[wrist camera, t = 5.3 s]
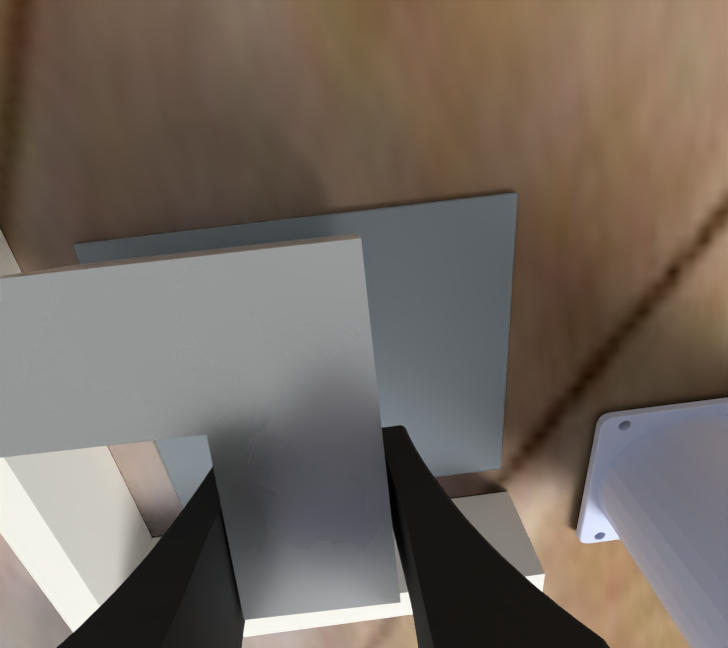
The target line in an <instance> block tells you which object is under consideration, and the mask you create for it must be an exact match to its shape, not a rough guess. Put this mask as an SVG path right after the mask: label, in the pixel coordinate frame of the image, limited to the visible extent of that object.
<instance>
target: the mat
mask: <svg viewBox="0 0 728 648" xmlns="http://www.w3.org/2000/svg"><path fill="white" fill-rule="evenodd" d="M517 200H518V193H516V192H512V193H504V194H495V195H487V196H478V197H470V198H461V199H452V200H444V201H435V202H427V203H418V204H410V205H401V206H393V207H384V208H376V209H367V210H359V211H350V212H342V213H333V214H325V215H316V216H307V217H299V218H290V219H282V220H273V221H265V222H256V223H248V224H239V225H231V226H222V227H214V228H205V229H197V230H188V231H180V232H171V233H162V234H154V235H145V236H137V237H128V238H120V239H111V240H103V241H94V242H86V243H77V244H74V245H73V248H74V251H75V253H76V256H77V258H78V260H79V263H80V264H84V263H92V262H101V261H110V260H119V259H128V258H137V257H146V256H155V255H164V254H172V253H181V252H190V251H199V250H208V249H217V248H226V247H235V246H244V245H253V244H262V243H271V242H280V241H289V240H297V239H306V238H315V237H324V236H333V235H342V234H351V233H358V234H359V236H360V237H361V242H362V252H363V261H364V270H365V279H366V288H367V298H368V307H369V316H370V325H371V334H372V344H373V353H374V362H375V371H376V380H377V389H378V399H379V408H380V417H381V426H382V428H383V427H391V426H398V425H402V426H404V427H405V428H406V430H407V432H408V434H409V436H410V438H411V440H412V442H413V444H414V446H415V448H416V449H417V451H418V453H419V454H420V456H421V458H422V459H423V461H424V463H425V464H426V466H427V467H428V469H429V470H430V472H431V473H432V474H433V476H434V477H441V476H448V475H456V474H464V473H471V472H479V471H487V470H495V469H501V455H502V439H503V423H504V407H505V391H506V375H507V359H508V343H509V327H510V311H511V295H512V279H513V263H514V248H515V232H516V216H517ZM154 441H155V443H156V445H157V448H158V450H159V453H160V455H161V457H162V460H163V462H164V464H165V467H166V469H167V472H168V474H169V476H170V479H171V481H172V483H173V486H174V488H175V491H176V493H177V495H178V498H179V500H180V502H181V505H182V507H183V508H184V507H185V506H186V504H187V503H188V501H189V500H190V499H191V497H192V496H193V494H194V493H195V492H196V490H197V489H198V487H199V486H200V484H201V483H202V481H203V480H204V478H205V477H206V475H207V474H208V472H209V471H210V469H211V468H212V466H213V464H212V459H211V454H210V449H209V445H208V440H207V435H198V436H189V437H181V438H172V439H163V440H154Z"/></svg>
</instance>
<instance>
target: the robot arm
mask: <svg viewBox="0 0 728 648" xmlns="http://www.w3.org/2000/svg"><path fill="white" fill-rule="evenodd" d="M623 421H624V422H623ZM622 422H623V423H622ZM620 423H621V424H620ZM382 435H383V445H384V454H385V463H386V472H387V481H388V491H389V500H390V509H391V518H392V527H393V532H394V536H395V540H396V544H397V548H398V552H399V556H400V561H401V565H402V569H403V573H404V577H405V581H406V585H407V589H408V593H409V598H410V602H411V607H412V612H413V617H414V622H415V629H416V635H417V641H418V648H610V647H609V646H608V645H607V643H606V642H605V640H604V639H602V638H601V637H600V636H598V635H597V634H596V633H594V632H593V631H592V630H590V629H589V628H588V627H586V626H585V625H583V624H582V623H581V622H579V621H578V620H577V619H576V618H574V617H573V616H572V615H570V614H569V613H568V612H567V611H565V610H564V609H563V608H561V607H560V606H559V605H558V604H556V603H555V602H554V601H553V600H552V599H550V598H549V597H548V596H547V595H545V594H544V593H543V592H542V591H541V590H539V589H538V588H537V587H536V586H535V585H534V584H532V583H531V582H530V581H529V580H528V579H527V578H526V577H525V576H524V575H523V574H521V573H520V572H519V571H518V570H517V569H516V568H515V567H514V566H513V565H512V564H510V563H509V562H508V561H507V560H506V559H505V558H504V557H503V556H502V555H501V554H500V553H499V552H498V551H497V550H496V549H495V548H494V547H493V546H492V545H491V544H490V543H489V542H488V541H487V540H486V539H485V538H484V537H483V536H482V535H481V534H480V533H479V532H478V530H477V529H476V528H475V527H474V526H473V525H472V524H471V523H470V522H469V521H468V519H467V518H466V517H465V516H464V515H463V514H462V512H461V511H460V510H459V509H458V508H457V506H456V505H455V504H454V503H453V501H452V500H451V499H450V498H449V496H448V495H447V494H446V492H445V491H444V490H443V488H442V487H441V486H440V484H439V483H438V481H437V480H436V479H435V477H434V476H433V474H432V473H431V472H430V470H429V469H428V467H427V466H426V464H425V463H424V461H423V459H422V458H421V456H420V454H419V453H418V451H417V449H416V448H415V446H414V444H413V442H412V440H411V438H410V436H409V434H408V432H407V430H406V428H405V427H404V426H402V425H398V426H391V427H383V428H382ZM576 535H577V537H578V539H579V540H580V541H581V542H582V543H594V542H602V541H609V540H617V539H620V540H621V541H622V543H623V544H624V546H625V547H626V549H627V551H628V552H629V554H630V555H631V557H632V558H633V560H634V561H635V563H636V564H637V566H638V567H639V569H640V571H641V572H642V574H643V575H644V577H645V578H646V580H647V581H648V583H649V584H650V586H651V588H652V589H653V591H654V592H655V594H656V595H657V597H658V598H659V600H660V601H661V603H662V604H663V606H664V608H665V609H666V611H667V612H668V614H669V615H670V617H671V618H672V620H673V621H674V623H675V624H676V626H677V628H678V629H679V631H680V632H681V634H682V635H683V637H684V638H685V640H686V641H687V643H688V645H689V646H690V648H728V397H727V398H719V399H711V400H703V401H696V402H688V403H680V404H672V405H664V406H656V407H648V408H641V409H633V410H625V411H617V412H610V413H606V414H604V415H602V416H601V417H600V418H599V419H598V422H597V425H596V430H595V435H594V441H593V446H592V451H591V456H590V462H589V467H588V472H587V478H586V483H585V488H584V493H583V499H582V504H581V509H580V514H579V520H578V525H577V530H576ZM244 625H245V620H244V617H243V612H242V607H241V602H240V597H239V593H238V588H237V583H236V578H235V573H234V568H233V563H232V558H231V553H230V548H229V543H228V538H227V533H226V528H225V523H224V519H223V514H222V509H221V504H220V499H219V494H218V489H217V484H216V479H215V474H214V469H213V466H212V468H211V469H210V471H209V472H208V474H207V475H206V477H205V478H204V480H203V481H202V483H201V484H200V486H199V487H198V489H197V490H196V492H195V493H194V494H193V496H192V497H191V499H190V500H189V501H188V503H187V504H186V506H185V507H184V508H183V510H182V511H181V513H180V514H179V515H178V517H177V518H176V519H175V521H174V522H173V523H172V525H171V526H170V527H169V528H168V530H167V531H166V532H165V534H164V535H163V536H162V537H161V539H160V540H159V541H158V543H157V544H156V545H155V546H154V548H153V549H152V550H151V551H150V552H149V554H148V555H147V556H146V557H145V558H144V560H143V561H142V562H141V563H140V564H139V565H138V567H137V568H136V569H135V570H134V571H133V572H132V573H131V574H130V575H129V577H128V578H127V579H126V580H125V581H124V582H123V583H122V584H121V585H120V586H119V588H118V589H117V590H116V591H115V592H114V593H113V594H112V595H111V596H110V597H109V598H108V599H107V600H106V601H105V602H104V603H103V604H102V605H101V606H100V607H99V608H98V609H97V610H96V611H95V612H94V613H93V614H92V615H91V616H90V617H89V618H88V619H87V620H86V621H85V622H84V623H83V624H82V625H81V626H80V627H79V628H78V629H77V630H76V631H75V632H73V633H72V634H71V635H70V636H69V637H68V638H67V639H66V640H65V641H64V642H63V643H61V644H60V645H59V646H58V647H57V648H241V647H242V639H243V632H244Z"/></svg>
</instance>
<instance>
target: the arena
mask: <svg viewBox="0 0 728 648" xmlns="http://www.w3.org/2000/svg"><path fill="white" fill-rule="evenodd" d="M17 273H22V272H21V270H20V268H19V266H18V264H17V262H16V260H15V258H14V256H13V254H12V252H11V250H10V248H9V246H8V244H7V242H6V239H5V237H4V235H3V233H2V231H1V229H0V276H3V275H10V274H17ZM451 500H452V501H453V503H454V504H455V505H456V506H457V508H458V509H459V510H460V511H461V512H462V514H463V515H464V516H465V517H466V518H467V519H468V521H469V522H470V523H471V524H472V525H473V526H474V527H475V528H476V529H477V530H478V532H479V533H480V534H481V535H482V536H483V537H484V538H485V539H486V540H487V541H488V542H489V543H490V544H491V545H492V546H493V547H494V548H495V549H496V550H497V551H498V552H499V553H500V554H501V555H502V556H503V557H504V558H505V559H506V560H507V561H508V562H509V563H510V564H512V565H513V566H514V567H515V568H516V569H517V570H518V571H519V572H520V573H521V574H523V575H524V576H525V577H526V578H527V579H528V580H529V581H530V582H531V583H532V584H534V585H535V586H536V587H537V588H538V589H539V590H541V591H543V584H544V578H545V573H544V570H543V568H542V566H541V564H540V561H539V559H538V557H537V555H536V553H535V550H534V548H533V546H532V544H531V541H530V539H529V537H528V535H527V533H526V530H525V528H524V526H523V524H522V521H521V519H520V517H519V515H518V512H517V510H516V508H515V506H514V504H513V501H512V499H511V497H510V495H509V492H500V493H492V494H485V495H477V496H469V497H462V498H454V499H451ZM0 533H1V534H2V536H3V537H4V539H5V540H6V541H7V543H8V544H9V545H10V547H11V548H12V549H13V551H14V552H15V554H16V555H17V556H18V558H19V559H20V560H21V562H22V563H23V565H24V566H25V567H26V569H27V570H28V571H29V573H30V574H31V576H32V577H33V578H34V580H35V581H36V582H37V584H38V585H39V586H40V588H41V589H42V591H43V592H44V593H45V595H46V596H47V597H48V599H49V600H50V602H51V603H52V604H53V606H54V607H55V608H56V610H57V611H58V613H59V614H60V615H61V617H62V618H63V619H64V621H65V622H66V624H67V625H68V626H69V628H70V629H71V630H72V632H75V631H76V630H77V629H78V628H79V627H80V626H81V625H82V624H83V623H84V622H85V621H86V620H87V619H88V618H89V617H90V616H91V615H92V614H93V613H94V612H95V611H96V610H97V609H98V608H99V607H100V606H101V605H102V604H103V603H104V602H105V601H106V600H107V599H108V598H109V597H110V596H111V595H112V594H113V593H114V592H115V591H116V590H117V589H118V588H119V586H120V585H121V584H122V583H123V582H124V581H125V580H126V579H127V578H128V577H129V575H130V574H131V573H132V572H133V571H134V570H135V569H136V568H137V567H138V565H139V564H140V563H141V562H142V561H143V560H144V558H145V557H146V556H147V555H148V554H149V552H150V551H151V550H152V549H153V548H154V546H155V545H156V544H157V543H158V541H159V540H160V539H161V537H155V538H152V537H151V535H150V533H149V531H148V529H147V527H146V525H145V522H144V520H143V518H142V516H141V514H140V512H139V510H138V508H137V506H136V504H135V502H134V500H133V498H132V496H131V494H130V492H129V490H128V488H127V486H126V484H125V482H124V480H123V478H122V476H121V474H120V472H119V470H118V468H117V465H116V463H115V461H114V459H113V457H112V455H111V453H110V451H109V449H108V447H107V446H100V447H91V448H83V449H74V450H65V451H56V452H47V453H38V454H29V455H20V456H11V457H2V458H0ZM393 537H394V546H395V555H396V564H397V573H398V583H399V592H400V601H401V602H400V603H391V604H382V605H373V606H365V607H356V608H347V609H338V610H329V611H320V612H311V613H302V614H293V615H285V616H276V617H267V618H258V619H249V620H245V625H244V632H243V637H248V636H255V635H262V634H270V633H277V632H285V631H292V630H299V629H307V628H314V627H322V626H329V625H336V624H344V623H351V622H359V621H366V620H373V619H381V618H388V617H396V616H403V615H410V614H413V612H412V607H411V602H410V598H409V593H408V589H407V585H406V581H405V577H404V573H403V569H402V565H401V561H400V556H399V552H398V548H397V544H396V540H395V536H394V532H393Z"/></svg>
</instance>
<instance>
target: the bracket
mask: <svg viewBox="0 0 728 648" xmlns="http://www.w3.org/2000/svg"><path fill="white" fill-rule="evenodd" d="M198 435H207V440H208V445H209V449H210V454H211V459H212V464H213V469H214V474H215V479H216V484H217V489H218V494H219V499H220V504H221V509H222V514H223V519H224V523H225V528H226V533H227V538H228V543H229V548H230V553H231V558H232V563H233V568H234V573H235V578H236V583H237V588H238V593H239V597H240V602H241V607H242V612H243V617H244V620H249V619H258V618H267V617H276V616H285V615H293V614H302V613H311V612H320V611H329V610H338V609H347V608H356V607H365V606H373V605H382V604H391V603H400V602H401V601H400V592H399V583H398V573H397V564H396V555H395V546H394V537H393V527H392V518H391V509H390V500H389V491H388V481H387V472H386V463H385V454H384V445H383V435H382V426H381V417H380V408H379V399H378V389H377V380H376V371H375V362H374V353H373V344H372V334H371V325H370V316H369V307H368V298H367V288H366V279H365V270H364V261H363V252H362V242H361V237H360V236H359V234H358V233H351V234H342V235H333V236H324V237H315V238H306V239H297V240H289V241H280V242H271V243H262V244H253V245H244V246H235V247H226V248H217V249H208V250H199V251H190V252H181V253H172V254H164V255H155V256H146V257H137V258H128V259H119V260H110V261H101V262H92V263H84V264H77V265H70V266H64V267H57V268H50V269H43V270H37V271H30V272H23V273H17V274H10V275H3V276H0V458H2V457H11V456H20V455H29V454H38V453H47V452H56V451H65V450H74V449H83V448H91V447H100V446H109V445H118V444H127V443H136V442H145V441H154V440H163V439H172V438H181V437H189V436H198Z"/></svg>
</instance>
